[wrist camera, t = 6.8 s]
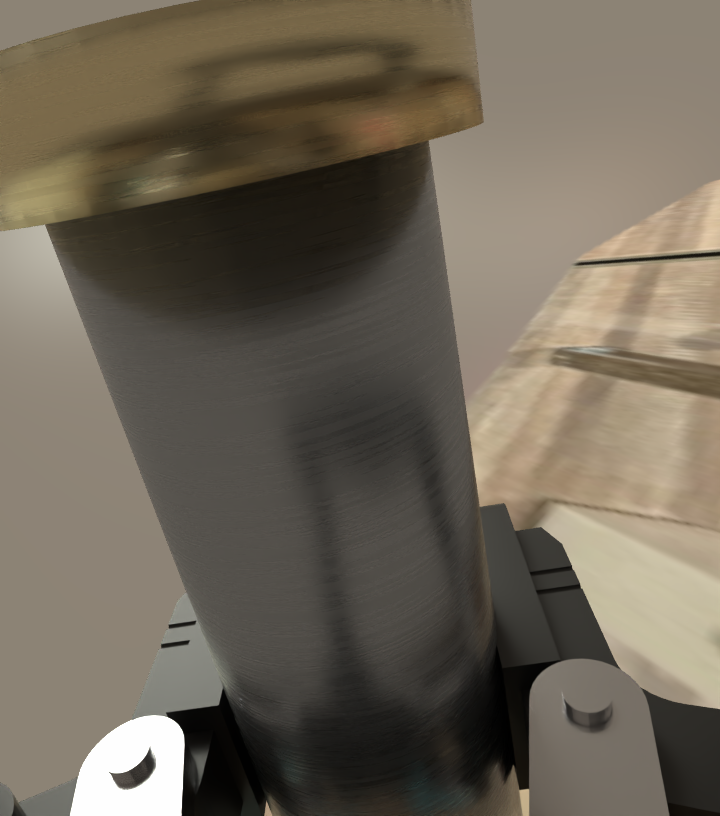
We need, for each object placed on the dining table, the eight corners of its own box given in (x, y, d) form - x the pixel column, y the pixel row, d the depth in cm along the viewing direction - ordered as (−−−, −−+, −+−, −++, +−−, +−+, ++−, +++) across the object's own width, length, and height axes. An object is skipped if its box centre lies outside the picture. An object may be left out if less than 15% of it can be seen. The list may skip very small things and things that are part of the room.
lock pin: (444, 877, 16) (259, 75, 9) (627, 1034, 13) (578, -30, 5) (306, 1067, 13) (-130, 130, 6) (496, 1326, 10) (52, -15, 3)
